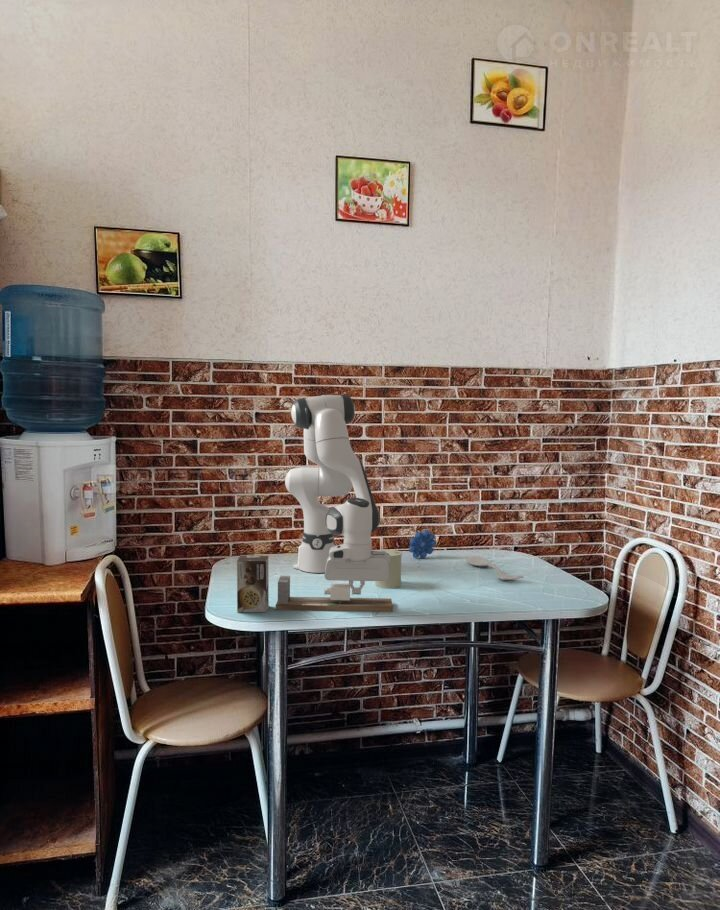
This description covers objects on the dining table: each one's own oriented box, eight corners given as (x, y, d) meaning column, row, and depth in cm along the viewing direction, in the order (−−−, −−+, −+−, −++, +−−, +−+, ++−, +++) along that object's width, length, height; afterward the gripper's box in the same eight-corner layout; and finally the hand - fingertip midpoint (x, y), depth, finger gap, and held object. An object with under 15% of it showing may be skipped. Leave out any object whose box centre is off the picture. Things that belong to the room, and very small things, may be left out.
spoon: (501, 585, 219) (502, 576, 219) (461, 562, 249) (462, 554, 249) (524, 584, 222) (524, 574, 221) (481, 561, 252) (482, 553, 252)
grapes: (433, 555, 259) (434, 527, 258) (437, 559, 252) (438, 531, 251) (406, 555, 257) (407, 527, 256) (409, 560, 251) (410, 531, 250)
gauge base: (279, 601, 197) (279, 575, 196) (391, 603, 197) (391, 577, 196) (275, 609, 189) (276, 582, 188) (392, 611, 189) (393, 584, 188)
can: (402, 588, 212) (403, 554, 211) (376, 588, 212) (377, 554, 211) (399, 580, 222) (400, 548, 221) (373, 580, 221) (374, 548, 220)
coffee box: (269, 605, 192) (269, 555, 190) (266, 613, 185) (267, 560, 184) (239, 605, 192) (239, 554, 190) (236, 612, 185) (236, 560, 184)
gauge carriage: (324, 596, 195) (325, 582, 195) (349, 596, 195) (350, 583, 195) (323, 603, 188) (323, 589, 188) (349, 603, 188) (350, 589, 188)
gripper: (390, 548, 195) (388, 591, 196) (325, 547, 194) (324, 590, 196) (391, 553, 188) (390, 597, 190) (324, 552, 188) (324, 596, 189)
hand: (356, 594), depth 193 cm, fingers closed
